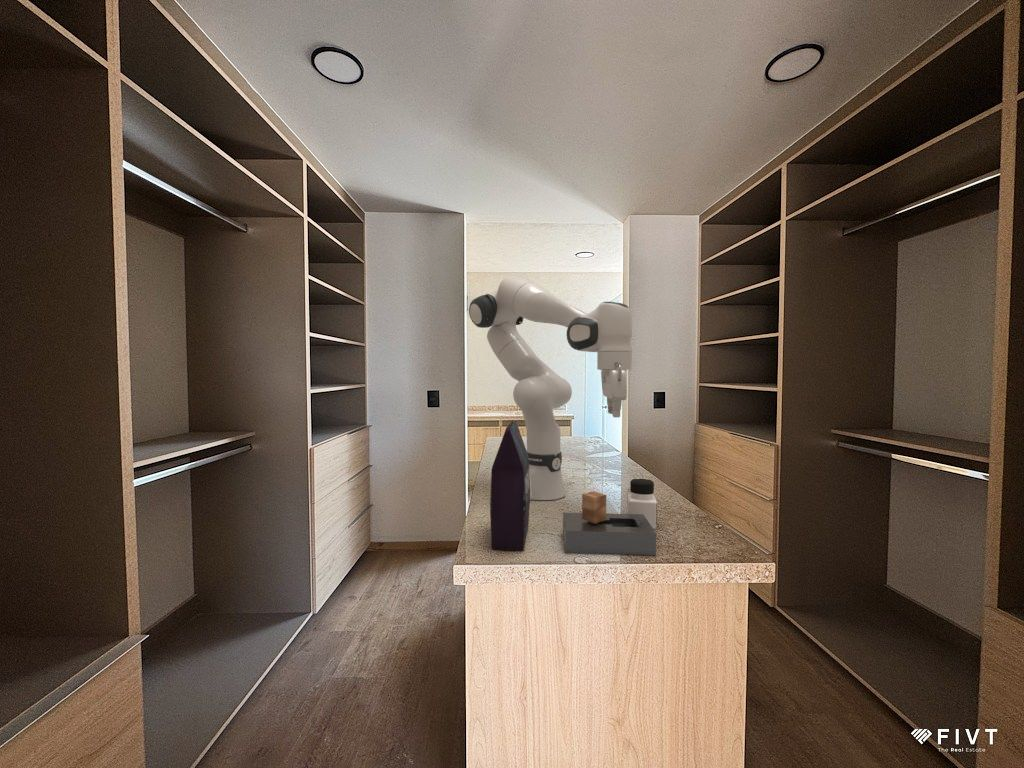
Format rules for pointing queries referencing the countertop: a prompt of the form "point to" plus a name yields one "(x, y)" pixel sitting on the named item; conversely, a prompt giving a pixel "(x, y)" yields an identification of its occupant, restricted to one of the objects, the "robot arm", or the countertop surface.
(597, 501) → the slider
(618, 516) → the keyhole plate
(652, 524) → the medicine bottle
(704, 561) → the countertop surface
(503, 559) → the countertop surface
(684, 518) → the countertop surface
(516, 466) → the decorative box
